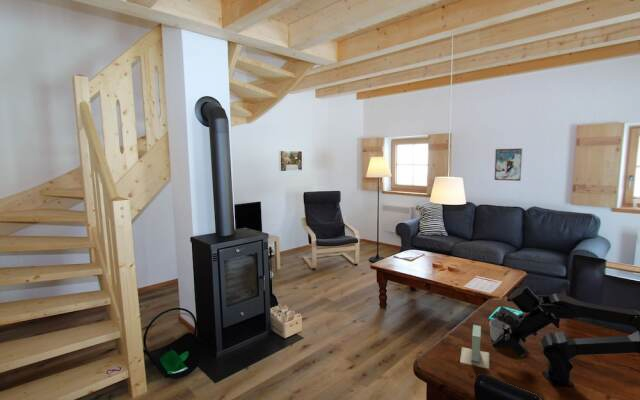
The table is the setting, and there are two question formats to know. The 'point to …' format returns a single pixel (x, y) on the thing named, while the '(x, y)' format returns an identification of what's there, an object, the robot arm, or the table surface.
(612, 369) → the table surface
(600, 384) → the table surface
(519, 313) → the handheld game console
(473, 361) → the pale mint rectangular box
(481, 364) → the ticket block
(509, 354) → the table surface
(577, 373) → the table surface
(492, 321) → the teacup
